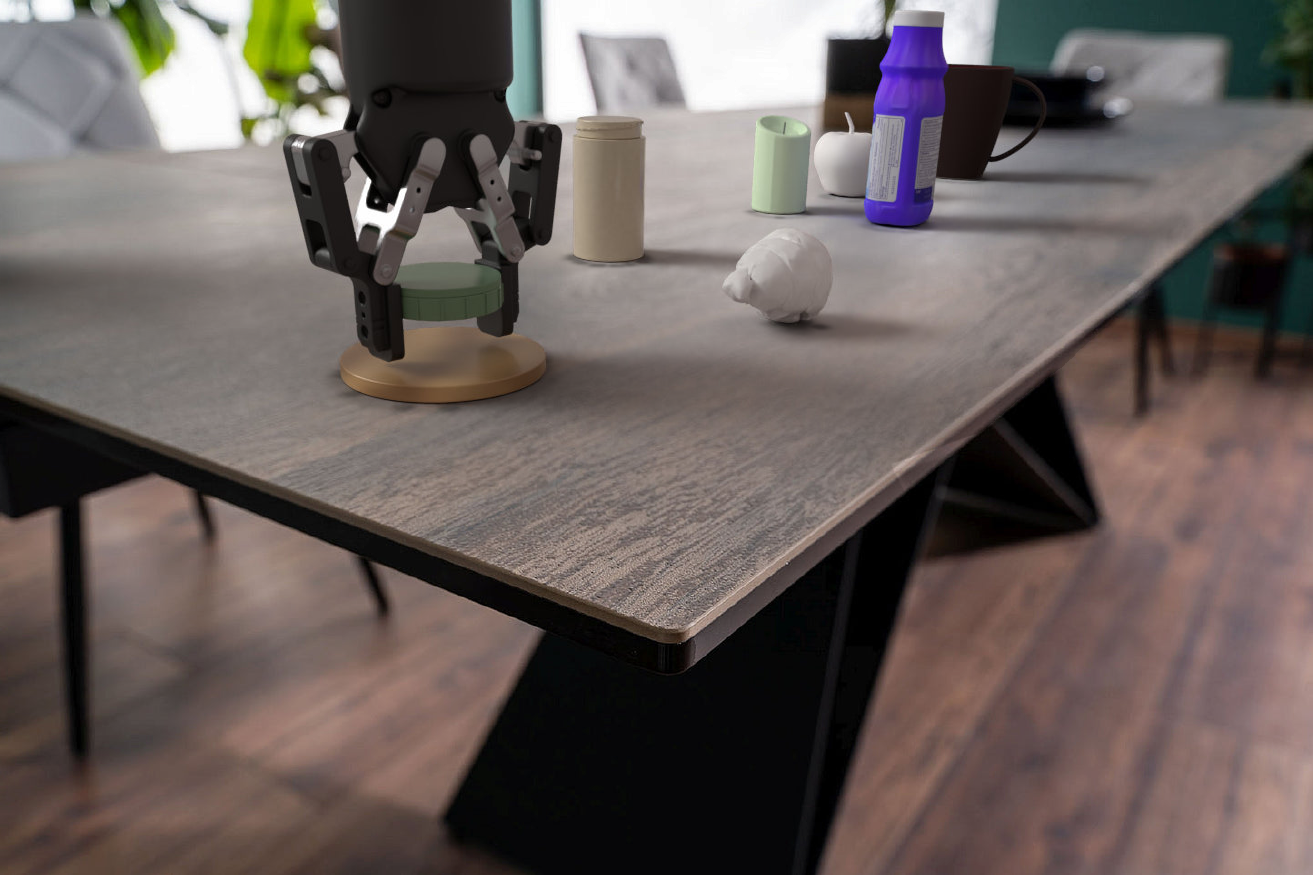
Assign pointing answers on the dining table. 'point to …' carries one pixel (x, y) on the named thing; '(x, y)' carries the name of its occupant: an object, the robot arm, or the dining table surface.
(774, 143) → the candle
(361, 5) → the robot arm
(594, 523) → the dining table surface
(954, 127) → the cup
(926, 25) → the bottle
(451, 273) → the lid
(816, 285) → the garlic bulb
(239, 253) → the dining table surface
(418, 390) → the coaster
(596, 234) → the jar
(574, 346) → the dining table surface
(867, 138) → the plain white apple
